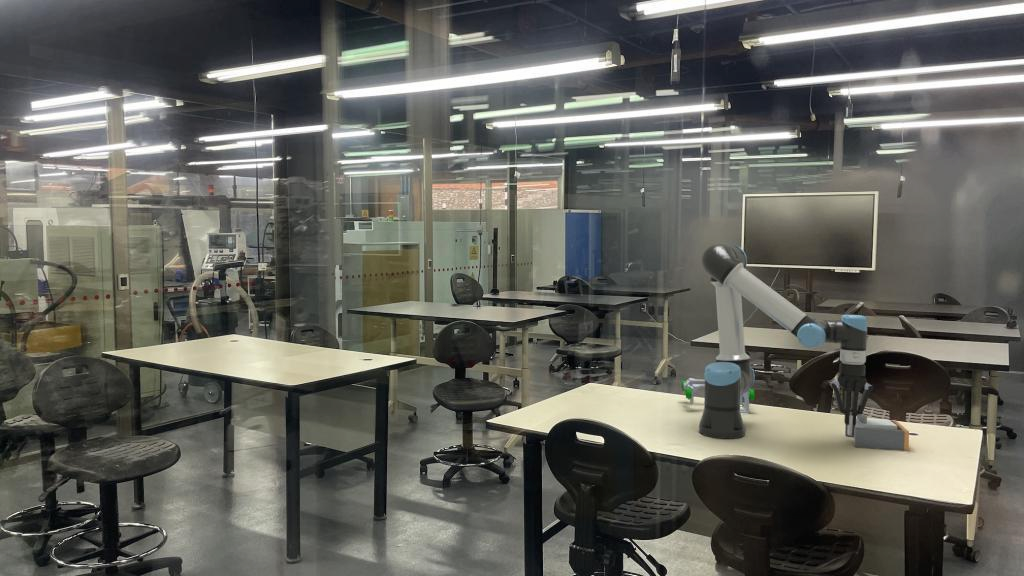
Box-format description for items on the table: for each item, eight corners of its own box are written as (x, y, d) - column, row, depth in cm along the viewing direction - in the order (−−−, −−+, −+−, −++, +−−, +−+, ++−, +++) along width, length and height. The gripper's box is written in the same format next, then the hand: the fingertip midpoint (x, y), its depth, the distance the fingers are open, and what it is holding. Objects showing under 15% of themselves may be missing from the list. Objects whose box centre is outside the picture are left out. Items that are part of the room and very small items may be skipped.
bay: (854, 447, 215) (855, 428, 215) (845, 435, 229) (845, 417, 229) (908, 450, 211) (909, 431, 211) (895, 438, 225) (895, 420, 225)
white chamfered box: (862, 445, 217) (863, 416, 217) (854, 438, 225) (855, 410, 224) (896, 446, 215) (897, 418, 215) (887, 440, 223) (888, 412, 222)
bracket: (681, 401, 280) (681, 377, 280) (744, 403, 277) (745, 379, 276) (686, 412, 262) (686, 386, 261) (754, 414, 258) (754, 388, 258)
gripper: (833, 363, 218) (831, 435, 219) (876, 365, 215) (873, 439, 216) (829, 360, 226) (826, 430, 227) (871, 362, 222) (868, 433, 223)
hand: (849, 434), depth 221 cm, fingers closed
